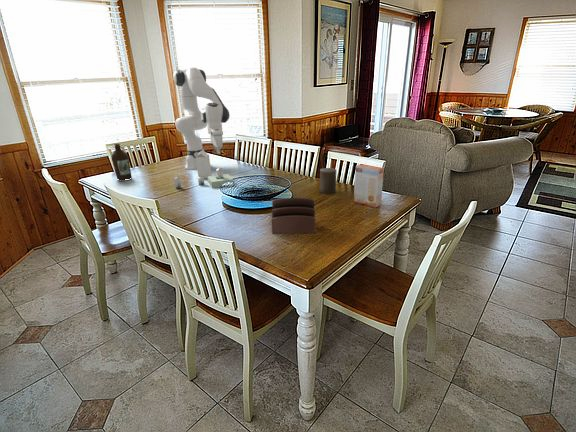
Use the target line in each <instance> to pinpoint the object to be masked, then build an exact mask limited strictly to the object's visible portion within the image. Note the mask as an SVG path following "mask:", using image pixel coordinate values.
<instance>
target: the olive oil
mask: <svg viewBox="0 0 576 432" xmlns="http://www.w3.org/2000/svg"><path fill="white" fill-rule="evenodd" d="M111 162H112V166H113V169H114V172H115V176H116V179H119V180H125V179H130V178H132V179H133V175H132V170H131V165H130V164H131V163H130V158H129V155H128V153H127V152H126V151H124V150H122V147H121V145H120V142H119V143H114V152H112V154H111ZM130 180H131V179H130Z"/></svg>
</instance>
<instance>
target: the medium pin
mask: <svg viewBox="0 0 576 432" xmlns="http://www.w3.org/2000/svg"><path fill="white" fill-rule="evenodd" d="M173 180H174V181H173V182H174V188H175V189H176V190H178V189H182V184H181V177H180V176H174V177H173Z"/></svg>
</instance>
